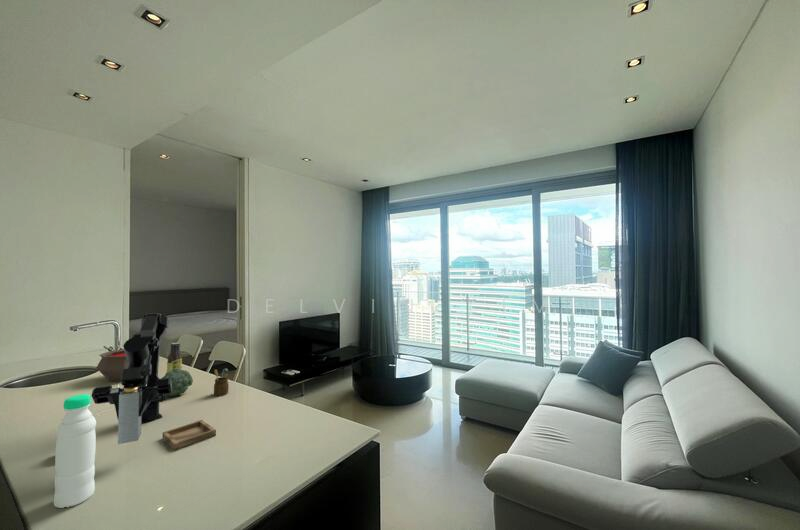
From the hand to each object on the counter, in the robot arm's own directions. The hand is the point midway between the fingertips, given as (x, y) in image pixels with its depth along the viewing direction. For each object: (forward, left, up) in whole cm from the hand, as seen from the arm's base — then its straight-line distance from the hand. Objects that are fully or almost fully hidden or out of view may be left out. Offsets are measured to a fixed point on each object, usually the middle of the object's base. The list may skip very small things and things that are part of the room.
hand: (129, 417), depth 94 cm
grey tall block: (-1, +1, -7) cm, 7 cm away
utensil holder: (-36, +41, -14) cm, 57 cm away
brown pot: (-100, +20, -14) cm, 103 cm away
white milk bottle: (+9, -12, -14) cm, 20 cm away
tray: (-3, +17, -13) cm, 22 cm away
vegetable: (-53, +28, -14) cm, 61 cm away
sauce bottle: (-71, +33, -14) cm, 80 cm away
